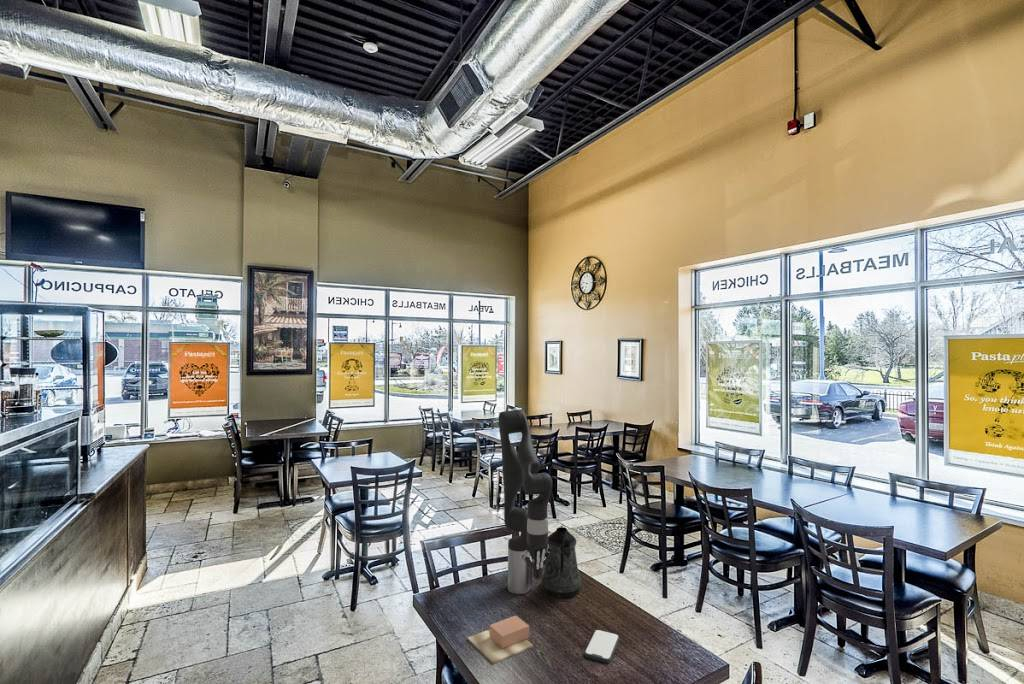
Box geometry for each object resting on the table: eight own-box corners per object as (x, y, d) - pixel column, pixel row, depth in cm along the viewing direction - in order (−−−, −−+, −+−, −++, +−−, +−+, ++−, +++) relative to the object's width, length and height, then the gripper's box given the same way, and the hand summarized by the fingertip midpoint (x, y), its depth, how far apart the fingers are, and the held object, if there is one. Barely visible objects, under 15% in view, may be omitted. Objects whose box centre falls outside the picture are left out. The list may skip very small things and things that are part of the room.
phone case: (595, 633, 173) (582, 658, 159) (595, 628, 173) (583, 652, 159) (620, 639, 170) (610, 665, 155) (620, 634, 170) (610, 660, 155)
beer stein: (563, 575, 216) (564, 518, 216) (594, 594, 200) (595, 532, 200) (533, 585, 206) (534, 526, 207) (563, 606, 190) (564, 541, 191)
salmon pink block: (515, 615, 175) (489, 625, 168) (529, 625, 168) (502, 636, 162) (515, 627, 174) (489, 637, 168) (529, 638, 168) (502, 649, 162)
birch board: (506, 624, 177) (506, 622, 177) (533, 647, 164) (533, 645, 164) (467, 639, 168) (467, 637, 168) (492, 664, 155) (492, 662, 155)
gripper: (545, 522, 182) (545, 568, 182) (516, 530, 174) (516, 579, 174) (558, 528, 176) (558, 576, 176) (529, 537, 168) (529, 587, 168)
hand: (537, 577), depth 175 cm, fingers closed
